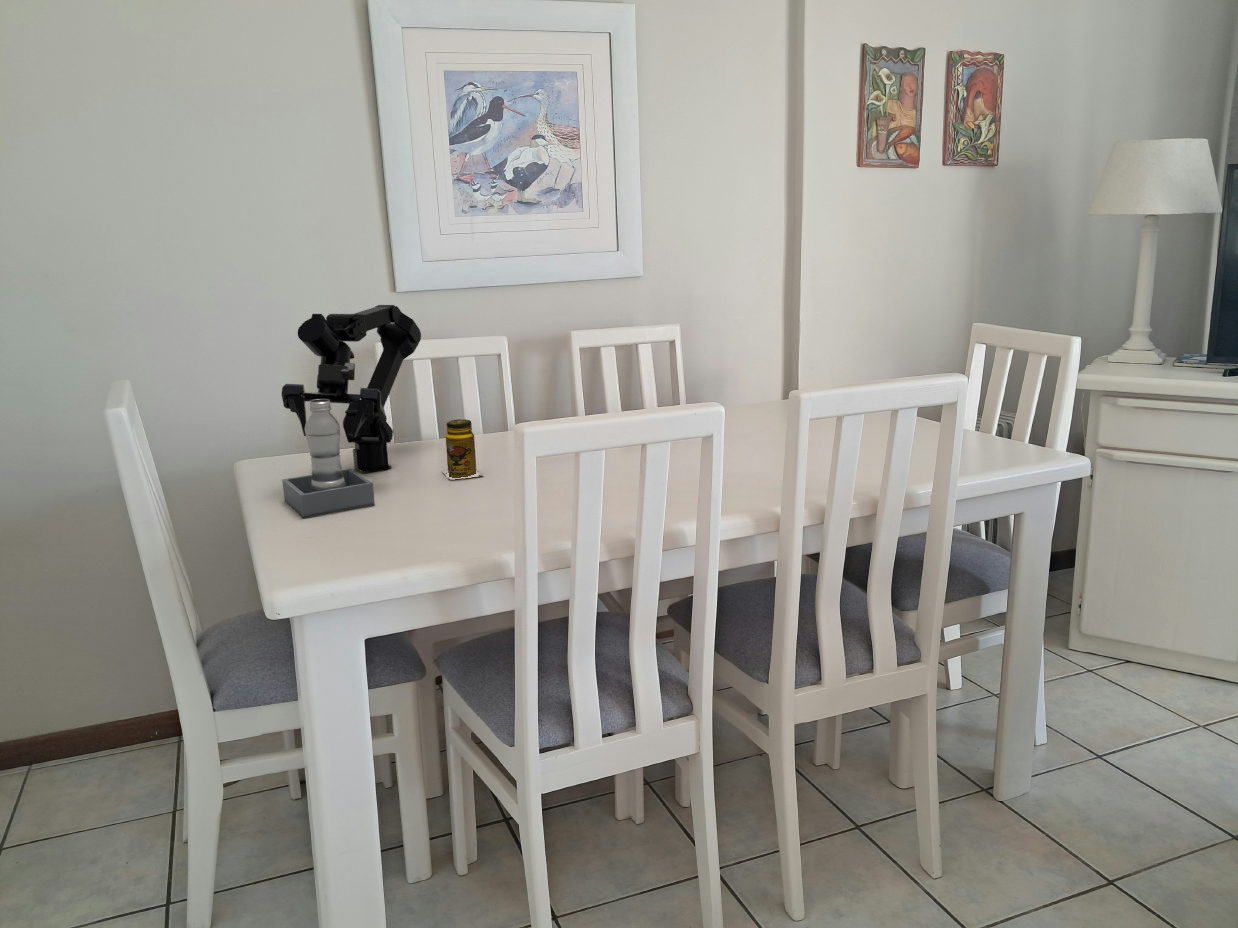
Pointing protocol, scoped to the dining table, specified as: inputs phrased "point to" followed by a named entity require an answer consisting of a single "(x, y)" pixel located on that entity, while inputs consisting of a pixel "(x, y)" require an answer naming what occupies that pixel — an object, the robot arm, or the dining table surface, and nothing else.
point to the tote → (328, 495)
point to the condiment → (460, 449)
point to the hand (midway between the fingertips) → (329, 436)
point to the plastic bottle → (324, 447)
